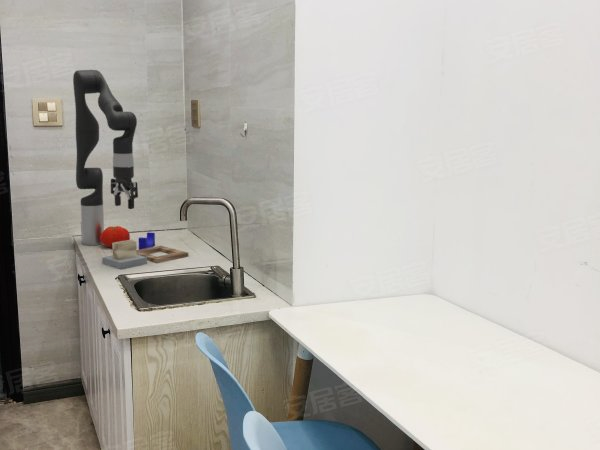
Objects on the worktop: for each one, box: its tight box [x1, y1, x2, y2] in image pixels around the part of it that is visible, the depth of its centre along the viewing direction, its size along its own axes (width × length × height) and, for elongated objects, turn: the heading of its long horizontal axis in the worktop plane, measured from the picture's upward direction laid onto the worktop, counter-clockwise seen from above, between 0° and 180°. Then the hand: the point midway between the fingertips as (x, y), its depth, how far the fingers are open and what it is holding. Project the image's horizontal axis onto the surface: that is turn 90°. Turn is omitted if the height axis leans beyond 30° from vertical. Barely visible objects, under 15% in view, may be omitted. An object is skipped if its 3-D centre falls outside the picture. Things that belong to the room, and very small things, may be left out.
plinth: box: [101, 254, 148, 270], centre depth 241 cm, size 12×12×2 cm
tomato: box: [100, 225, 131, 248], centre depth 267 cm, size 13×12×8 cm
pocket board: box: [136, 245, 189, 264], centre depth 254 cm, size 18×16×2 cm
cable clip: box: [138, 231, 156, 250], centre depth 266 cm, size 12×4×6 cm, turn 175°
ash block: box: [111, 239, 137, 260], centre depth 240 cm, size 4×8×6 cm, turn 140°
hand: (124, 207), depth 239 cm, fingers open, 8 cm apart
